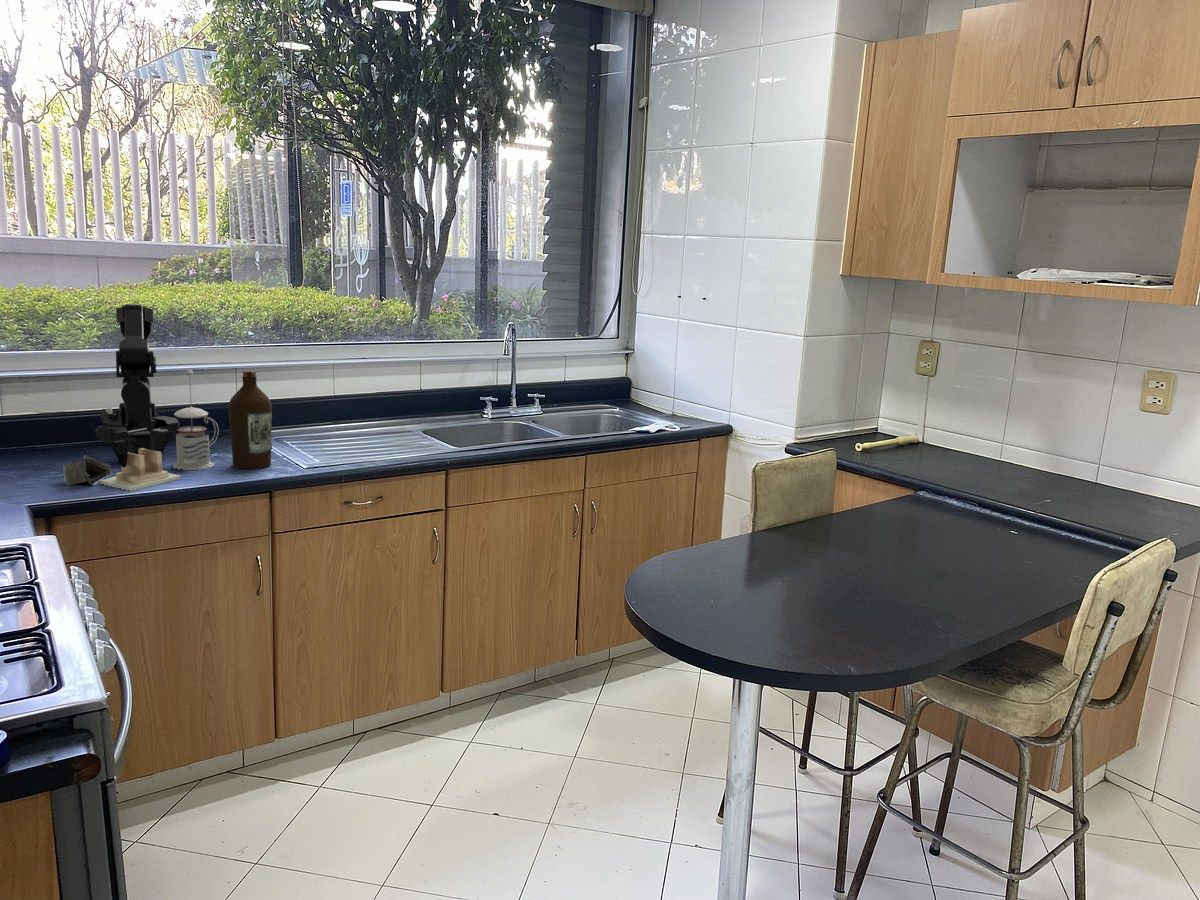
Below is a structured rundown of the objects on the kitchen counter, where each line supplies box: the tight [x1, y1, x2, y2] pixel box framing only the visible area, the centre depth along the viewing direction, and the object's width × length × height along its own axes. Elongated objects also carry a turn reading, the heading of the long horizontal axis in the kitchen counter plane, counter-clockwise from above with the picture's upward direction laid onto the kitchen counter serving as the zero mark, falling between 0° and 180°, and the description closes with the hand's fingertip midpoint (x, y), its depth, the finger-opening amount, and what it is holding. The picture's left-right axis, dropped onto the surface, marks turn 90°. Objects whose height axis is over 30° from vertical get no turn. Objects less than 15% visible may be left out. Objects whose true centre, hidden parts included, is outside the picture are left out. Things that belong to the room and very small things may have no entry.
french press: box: [172, 369, 220, 471], centre depth 231 cm, size 10×12×25 cm
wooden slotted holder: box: [115, 448, 169, 484], centre depth 214 cm, size 8×8×6 cm
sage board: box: [98, 472, 182, 492], centre depth 215 cm, size 14×11×1 cm
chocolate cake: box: [62, 454, 113, 486], centre depth 213 cm, size 10×7×12 cm
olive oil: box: [228, 369, 273, 470], centre depth 234 cm, size 11×11×25 cm
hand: (140, 463), depth 214 cm, fingers open, 9 cm apart
